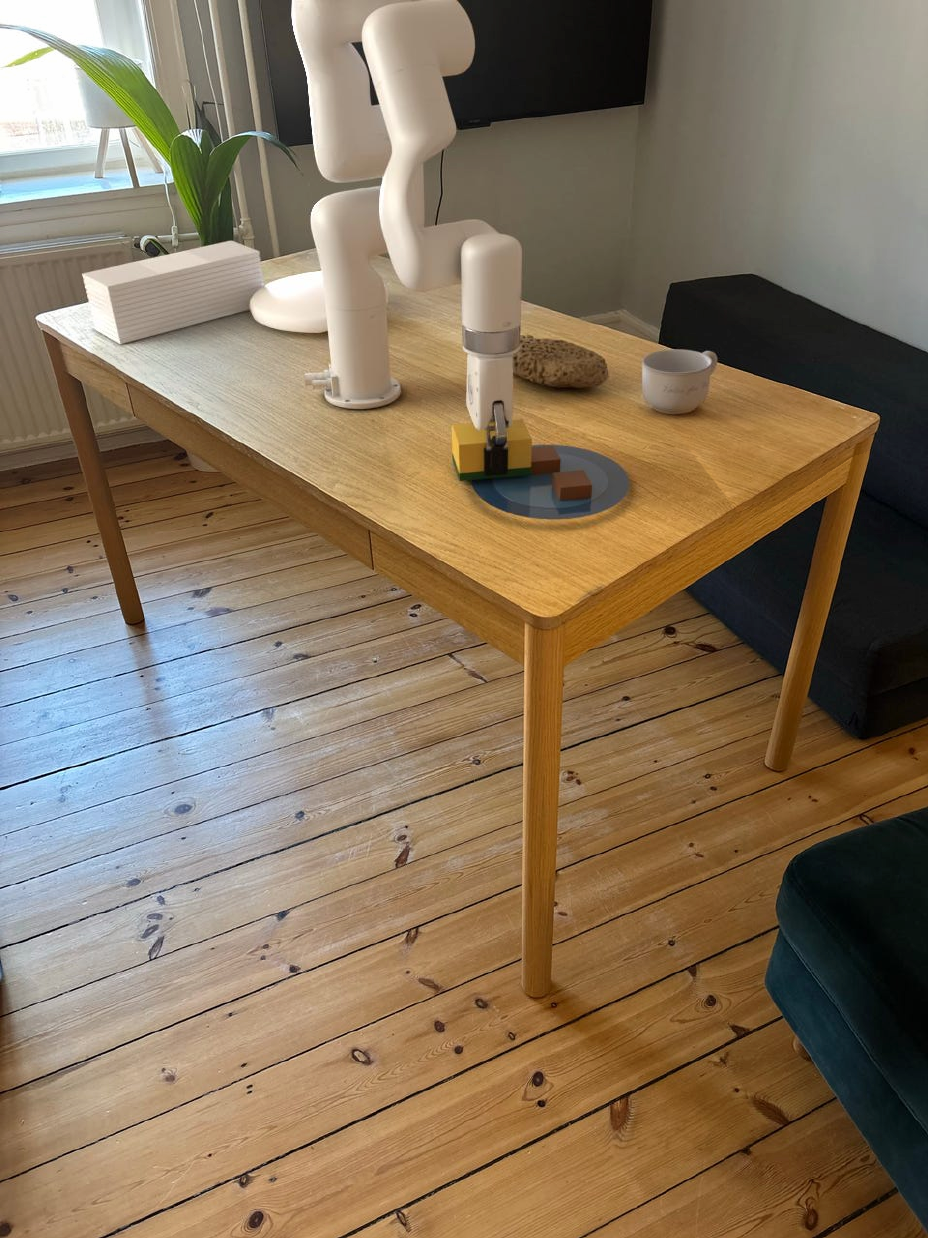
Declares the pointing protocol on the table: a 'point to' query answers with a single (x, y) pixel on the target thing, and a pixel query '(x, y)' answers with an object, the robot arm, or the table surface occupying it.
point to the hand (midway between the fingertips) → (491, 461)
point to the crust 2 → (571, 485)
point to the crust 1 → (544, 460)
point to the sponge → (558, 363)
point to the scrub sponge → (473, 442)
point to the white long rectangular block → (173, 290)
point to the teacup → (677, 379)
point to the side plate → (540, 498)
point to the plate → (294, 304)
